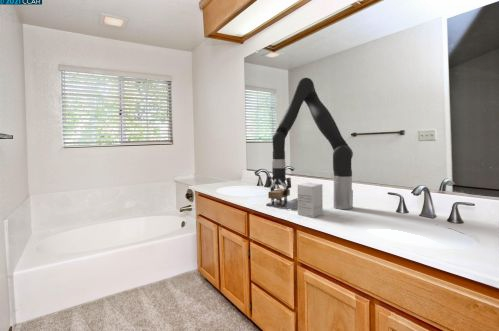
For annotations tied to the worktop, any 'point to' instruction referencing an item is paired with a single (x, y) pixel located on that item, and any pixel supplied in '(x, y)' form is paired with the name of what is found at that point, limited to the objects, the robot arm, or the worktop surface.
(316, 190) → the supplement box
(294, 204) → the stand
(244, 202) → the worktop surface
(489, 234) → the worktop surface
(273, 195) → the brown wooden block
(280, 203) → the peg base
